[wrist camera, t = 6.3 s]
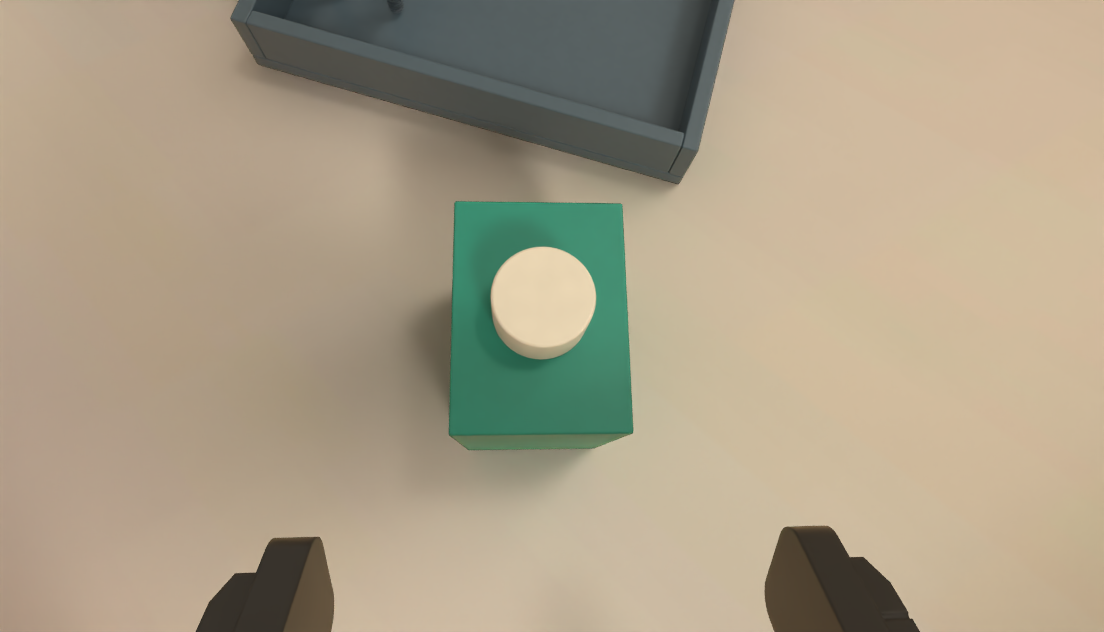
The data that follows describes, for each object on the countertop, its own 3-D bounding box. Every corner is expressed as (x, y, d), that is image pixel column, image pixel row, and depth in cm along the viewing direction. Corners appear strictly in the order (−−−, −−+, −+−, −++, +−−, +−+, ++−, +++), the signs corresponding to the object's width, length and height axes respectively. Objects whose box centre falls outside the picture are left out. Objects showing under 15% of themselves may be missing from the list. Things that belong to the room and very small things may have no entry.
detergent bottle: (589, 283, 23) (633, 176, 15) (595, 448, 22) (646, 428, 14) (470, 282, 23) (448, 173, 15) (467, 450, 22) (441, 431, 13)
